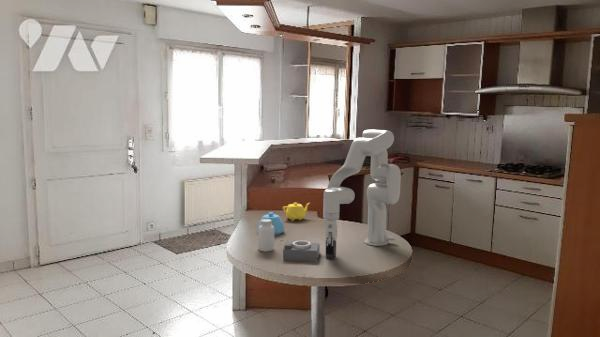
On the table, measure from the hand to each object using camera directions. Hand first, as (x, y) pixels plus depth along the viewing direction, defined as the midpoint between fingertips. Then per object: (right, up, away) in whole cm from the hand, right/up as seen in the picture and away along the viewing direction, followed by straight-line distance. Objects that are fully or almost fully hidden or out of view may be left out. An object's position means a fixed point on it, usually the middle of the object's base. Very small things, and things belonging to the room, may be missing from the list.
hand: (330, 250), depth 220 cm
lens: (0, -3, +1) cm, 3 cm away
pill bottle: (-31, -2, +13) cm, 34 cm away
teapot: (-17, +7, +74) cm, 77 cm away
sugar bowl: (-31, +3, +44) cm, 54 cm away
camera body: (-14, -3, +2) cm, 14 cm away
